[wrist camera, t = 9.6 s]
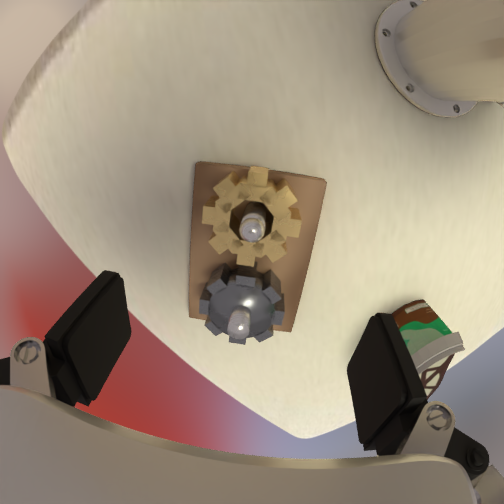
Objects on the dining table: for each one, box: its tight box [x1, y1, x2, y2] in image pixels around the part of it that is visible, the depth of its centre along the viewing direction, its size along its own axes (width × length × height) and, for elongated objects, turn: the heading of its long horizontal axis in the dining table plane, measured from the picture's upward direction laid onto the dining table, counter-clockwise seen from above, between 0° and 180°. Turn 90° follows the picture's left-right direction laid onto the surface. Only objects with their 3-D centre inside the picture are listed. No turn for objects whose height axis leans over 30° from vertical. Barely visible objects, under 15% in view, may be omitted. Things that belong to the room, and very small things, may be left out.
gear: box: [199, 261, 285, 344], centre depth 25 cm, size 8×8×6 cm
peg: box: [239, 201, 266, 243], centre depth 22 cm, size 2×2×5 cm
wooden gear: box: [202, 166, 302, 267], centre depth 23 cm, size 7×7×3 cm
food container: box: [392, 300, 465, 400], centre depth 26 cm, size 12×6×10 cm, turn 0°
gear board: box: [189, 161, 327, 332], centre depth 27 cm, size 11×16×2 cm
